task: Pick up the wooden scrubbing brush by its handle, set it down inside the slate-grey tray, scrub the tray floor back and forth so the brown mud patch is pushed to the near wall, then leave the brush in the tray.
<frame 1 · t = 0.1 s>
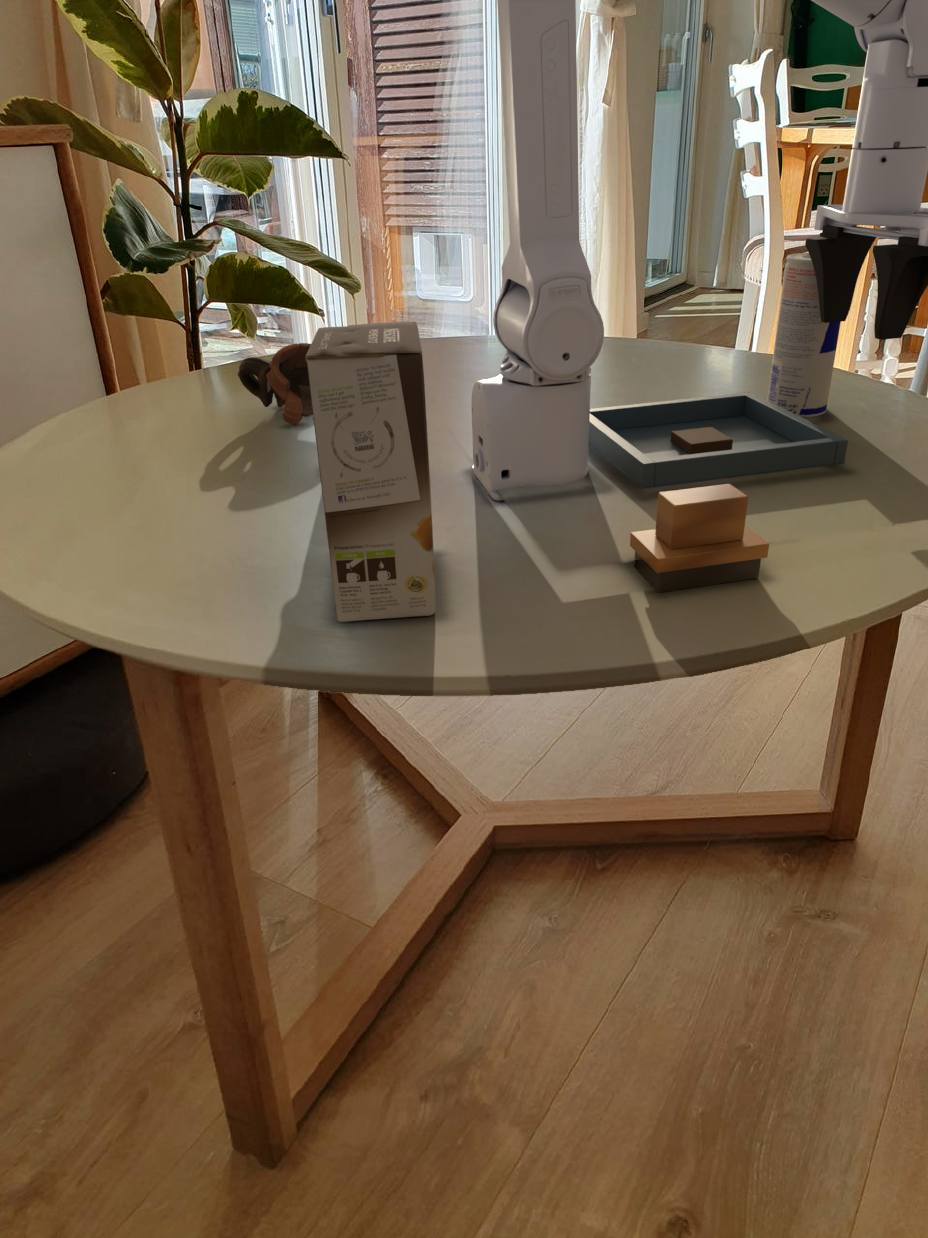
hand: (859, 329, 75), 10 cm above the table, tool pointing down, fingers open, 7 cm apart
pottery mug: (297, 415, 95), on the table
mud patch: (700, 445, 78), point 1 cm above the table, touching tray
tray: (699, 454, 78), on the table
coffee box: (387, 589, 58), on the table
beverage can: (794, 418, 87), on the table
brush: (695, 572, 58), on the table
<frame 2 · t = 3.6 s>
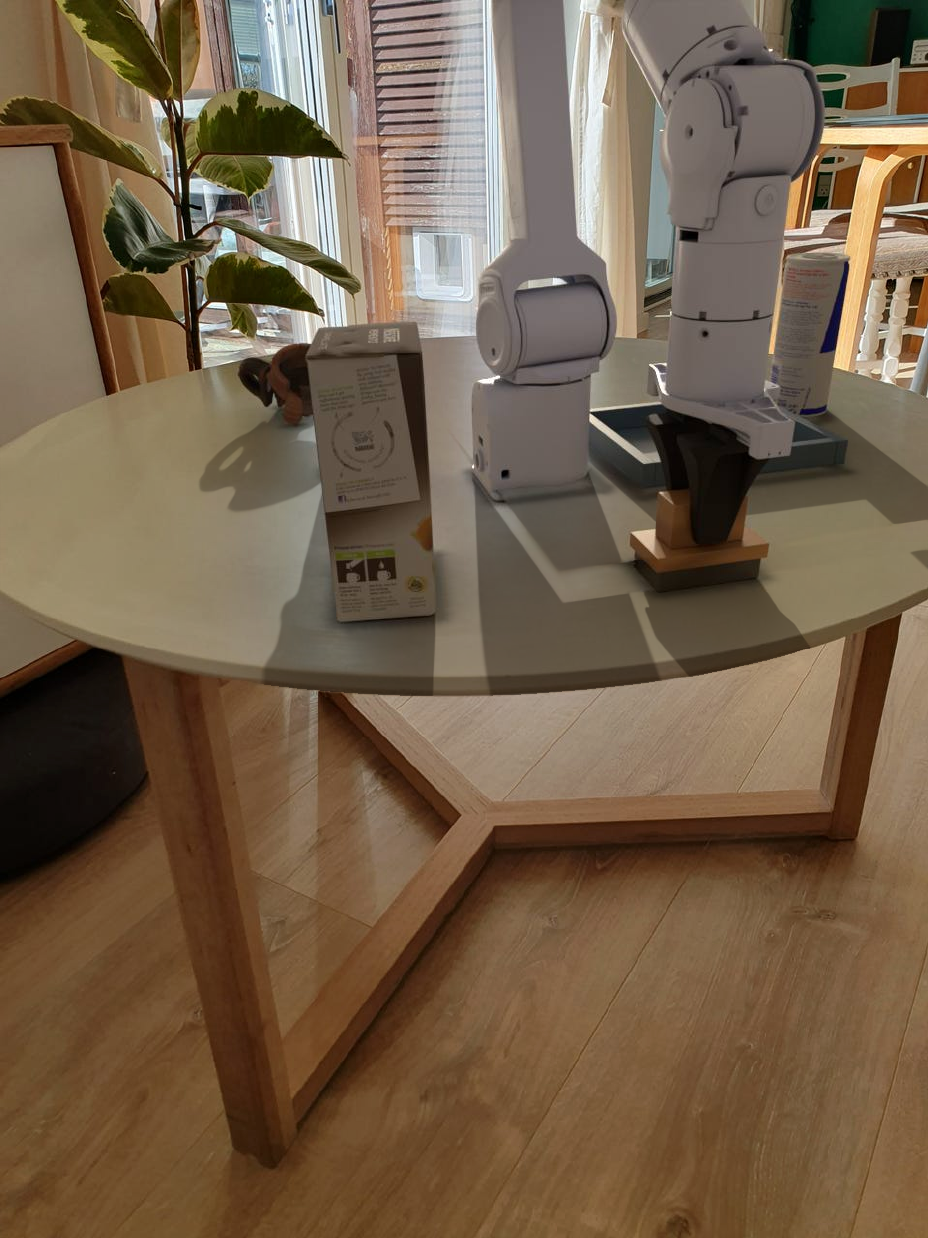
hand: (699, 531, 57), 3 cm above the table, tool pointing down, fingers closed on brush, 2 cm apart
brush: (694, 572, 58), on the table, touching gripper
everything else where it was.
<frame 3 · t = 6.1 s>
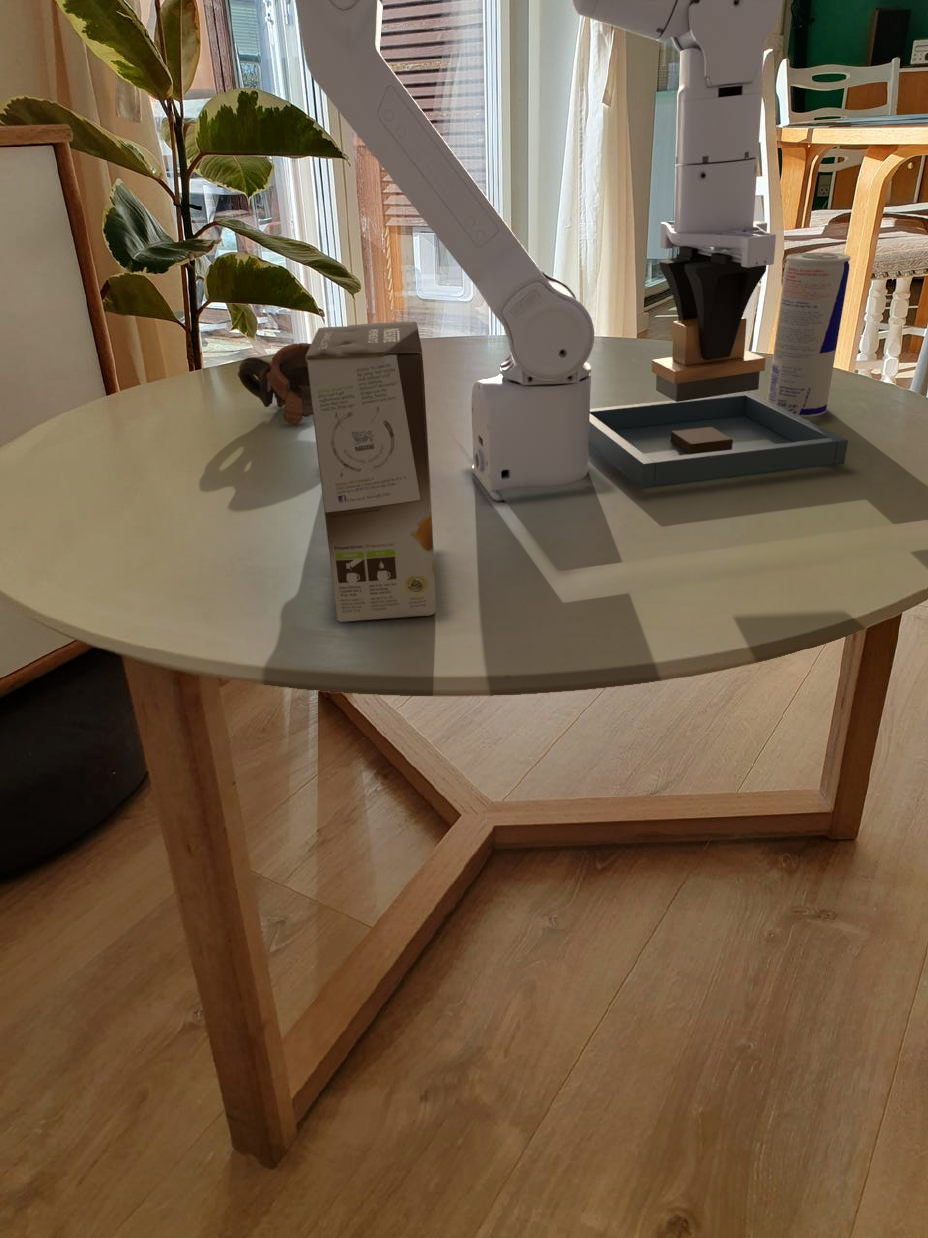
hand: (707, 353, 70), 10 cm above the table, tool pointing down, fingers closed on brush, 2 cm apart
brush: (706, 389, 71), point 7 cm above the table, touching gripper
everything else where it was.
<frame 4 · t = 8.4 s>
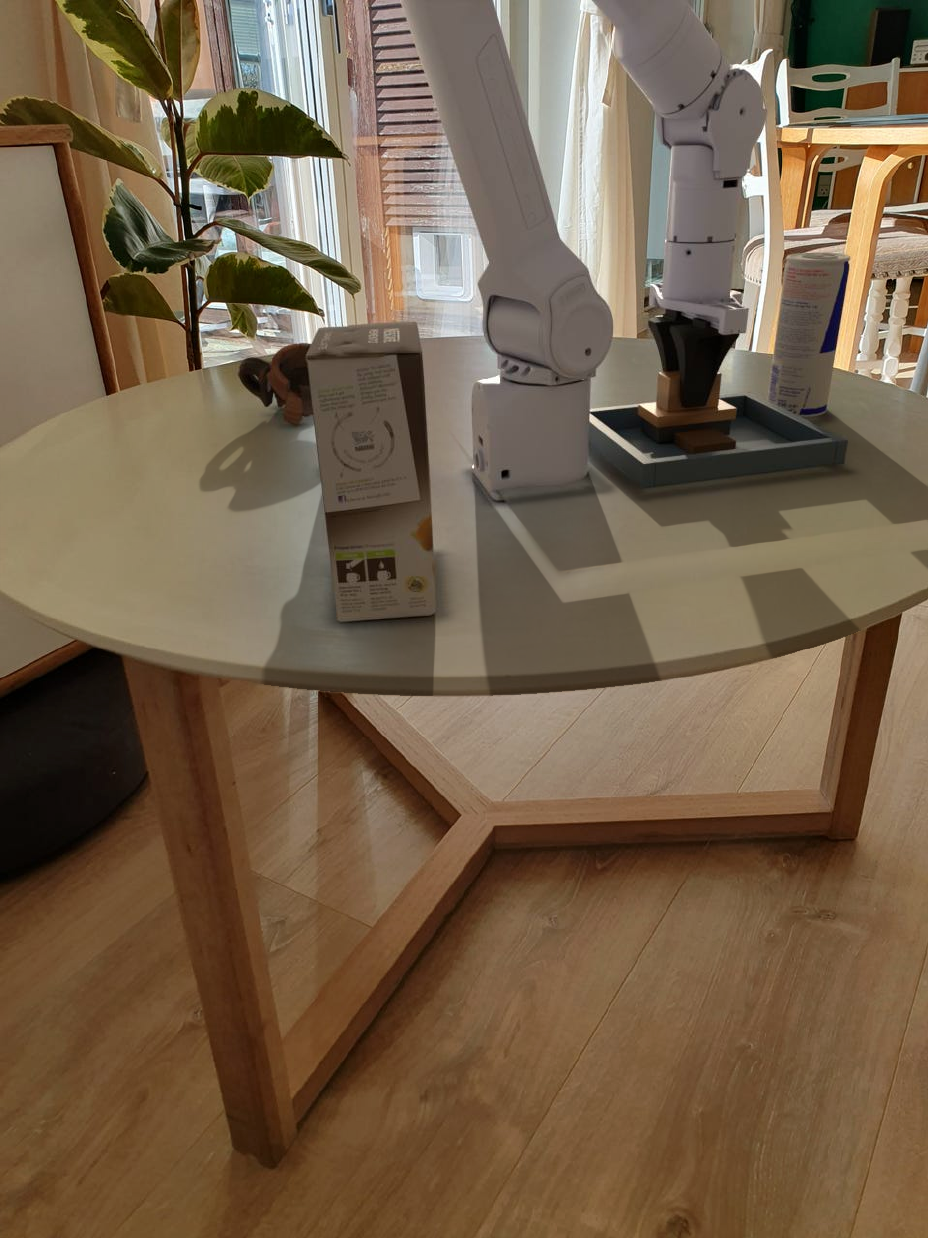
hand: (686, 401, 79), 4 cm above the table, tool pointing down, fingers closed on brush, 2 cm apart
brush: (684, 432, 81), point 1 cm above the table, touching gripper
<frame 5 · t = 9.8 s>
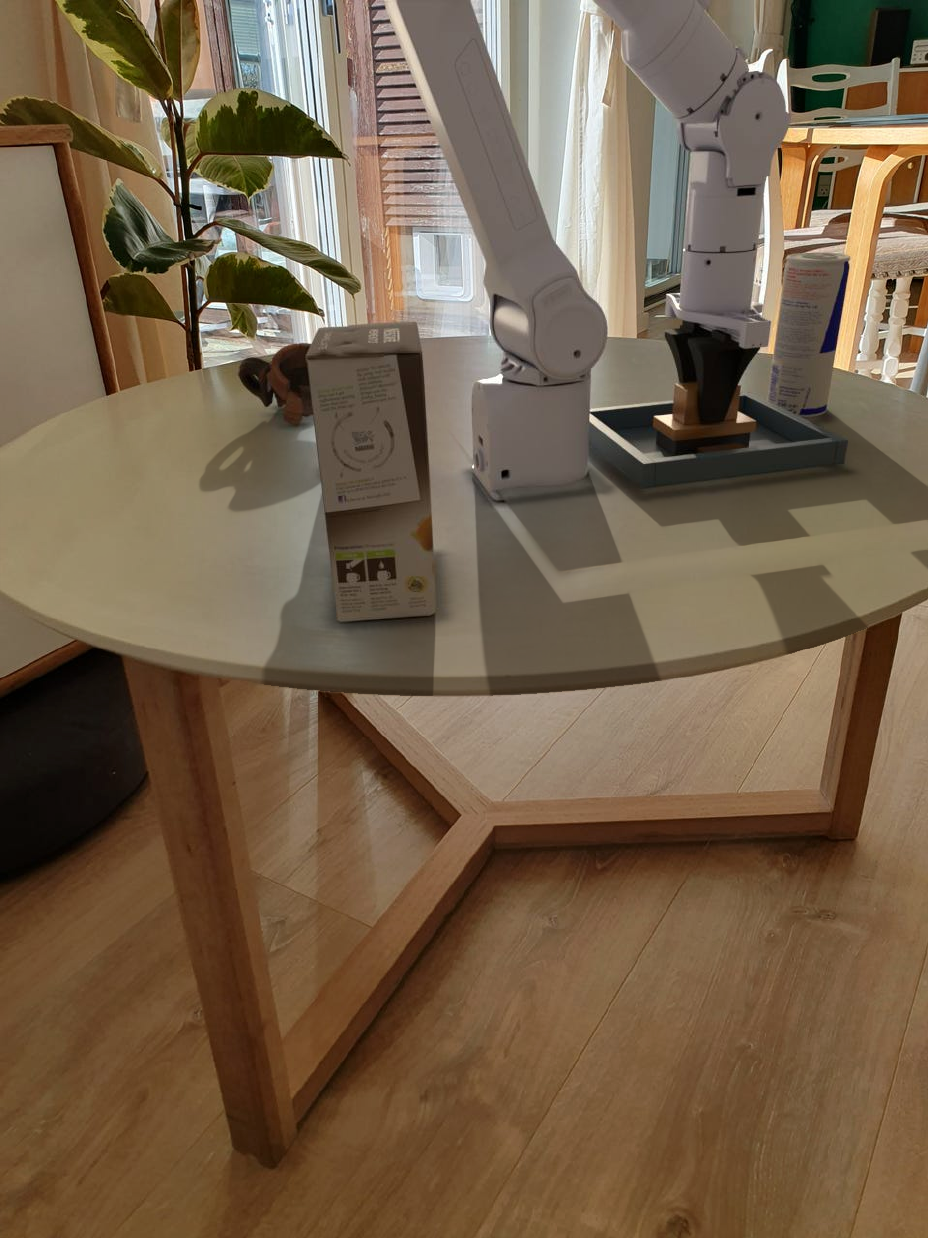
hand: (703, 416, 77), 3 cm above the table, tool pointing down, fingers closed on brush, 2 cm apart
mud patch: (728, 463, 74), point 1 cm above the table, touching tray
brush: (701, 445, 78), point 1 cm above the table, touching gripper
everything else where it was.
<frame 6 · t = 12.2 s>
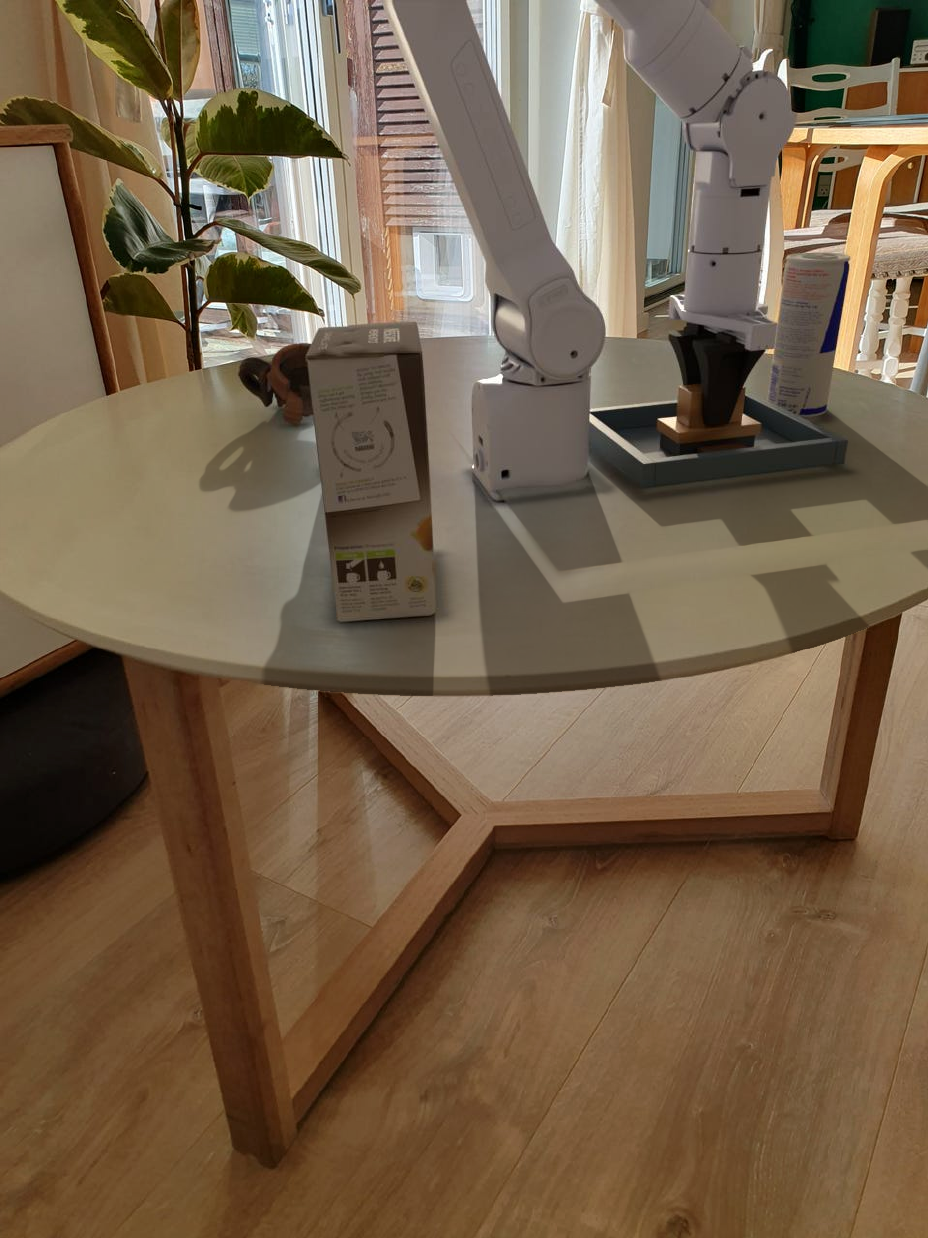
hand: (708, 418, 76), 3 cm above the table, tool pointing down, fingers closed on brush, 2 cm apart
brush: (705, 448, 77), point 1 cm above the table, touching gripper
everything else where it was.
when the fingers open (3 cm above the table, at t = 13.6 s): brush stays where it is, resting on tray.
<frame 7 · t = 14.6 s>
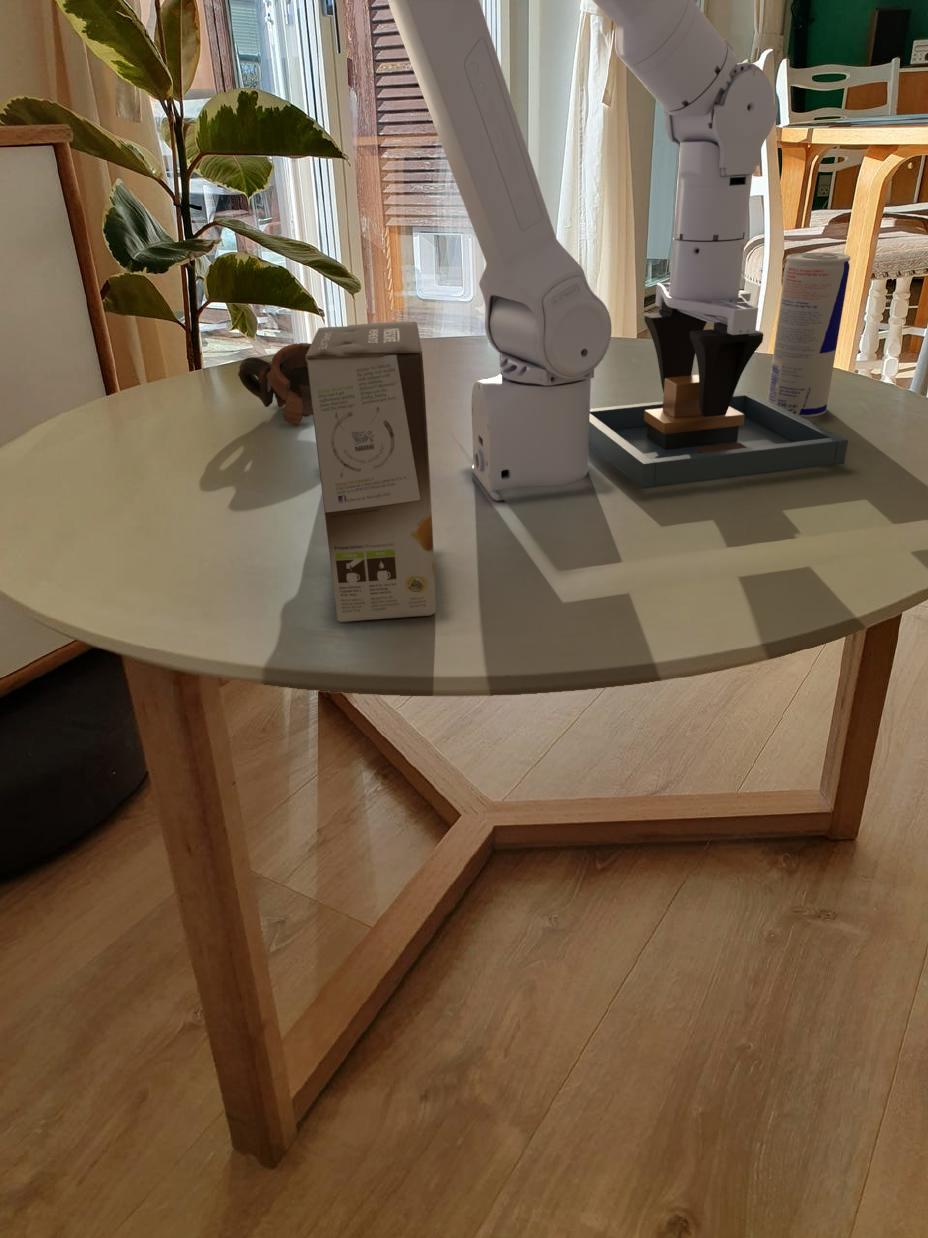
hand: (693, 403, 78), 4 cm above the table, tool pointing down, fingers open, 7 cm apart
brush: (691, 439, 80), point 1 cm above the table, touching tray
everything else where it was.
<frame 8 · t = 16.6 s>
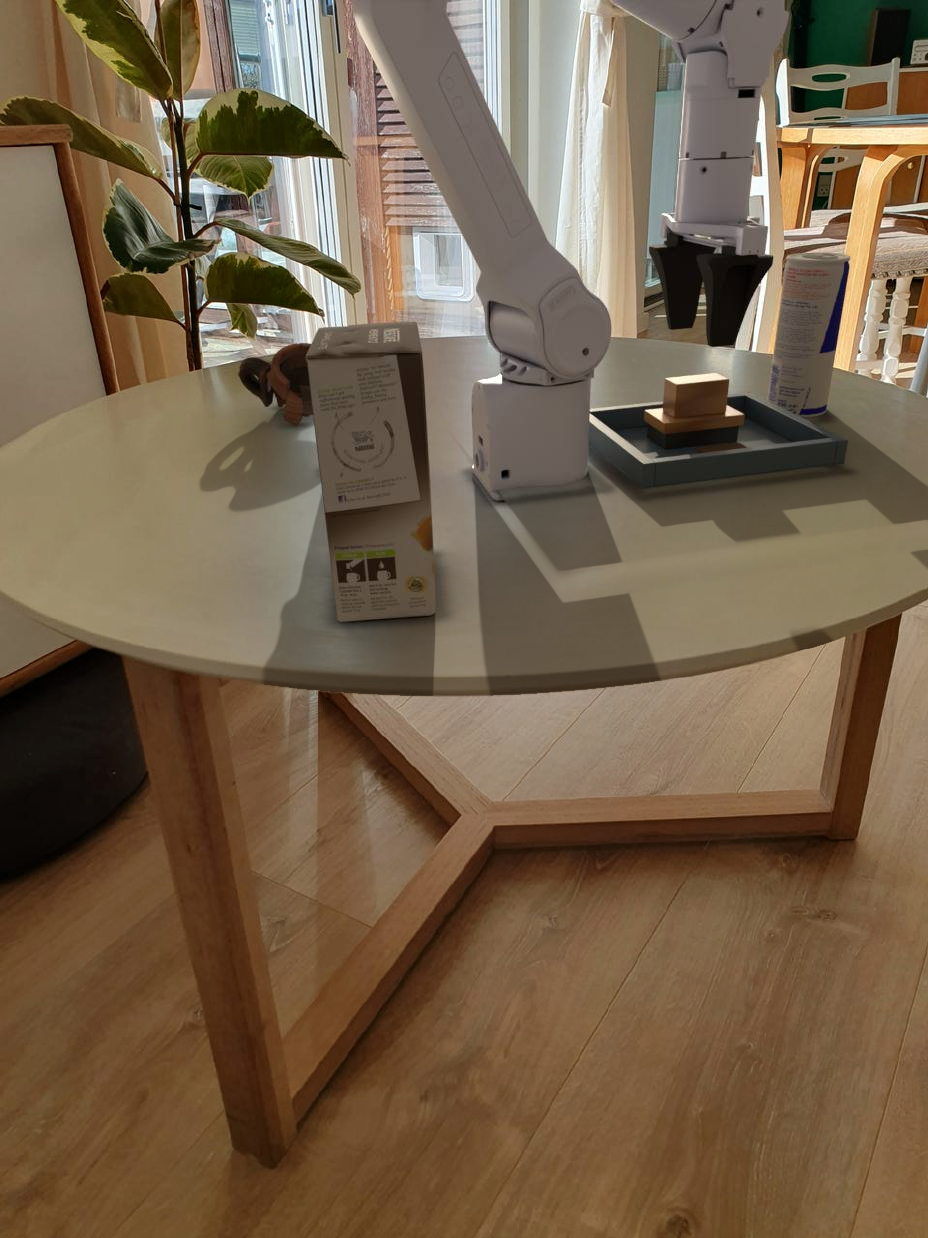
hand: (699, 336, 75), 10 cm above the table, tool pointing down, fingers open, 7 cm apart
nothing on the table moved.
at the end: mud patch moved 5.0 cm from its start; brush inside the target area in the tray (2.0 cm from its centre), point 0.8 cm above the tray's base; the gripper is holding nothing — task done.
